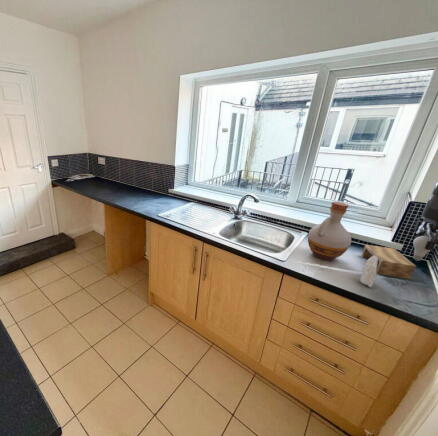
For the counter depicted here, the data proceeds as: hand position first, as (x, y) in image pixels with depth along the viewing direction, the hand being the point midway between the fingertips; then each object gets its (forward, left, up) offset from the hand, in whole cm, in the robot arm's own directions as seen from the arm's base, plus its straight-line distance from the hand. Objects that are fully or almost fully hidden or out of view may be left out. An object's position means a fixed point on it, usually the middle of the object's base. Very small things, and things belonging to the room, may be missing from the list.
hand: (422, 246), depth 99 cm
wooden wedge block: (+1, -16, -19) cm, 25 cm away
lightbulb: (0, 0, -7) cm, 7 cm away
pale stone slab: (+14, +1, -19) cm, 24 cm away
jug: (+27, -16, -19) cm, 37 cm away
